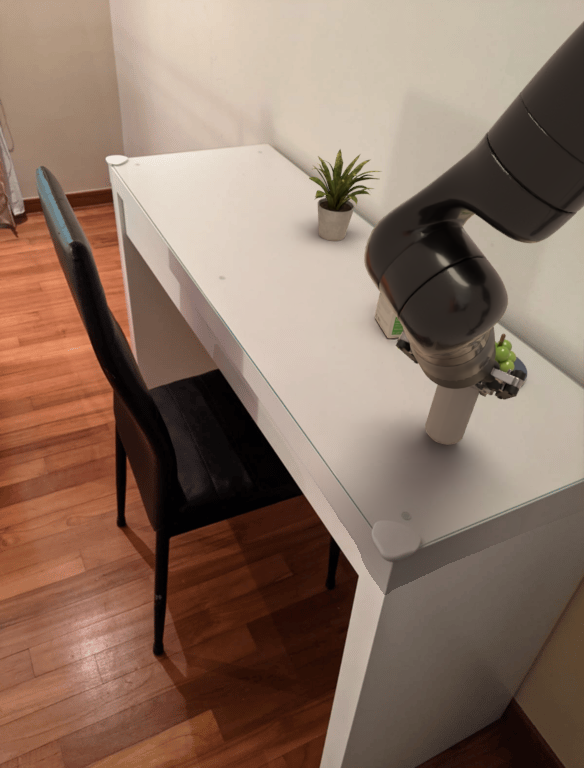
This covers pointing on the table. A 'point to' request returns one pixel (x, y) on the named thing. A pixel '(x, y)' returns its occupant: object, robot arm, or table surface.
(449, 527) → the table surface
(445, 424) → the beverage can
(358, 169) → the house plant
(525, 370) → the grapes
